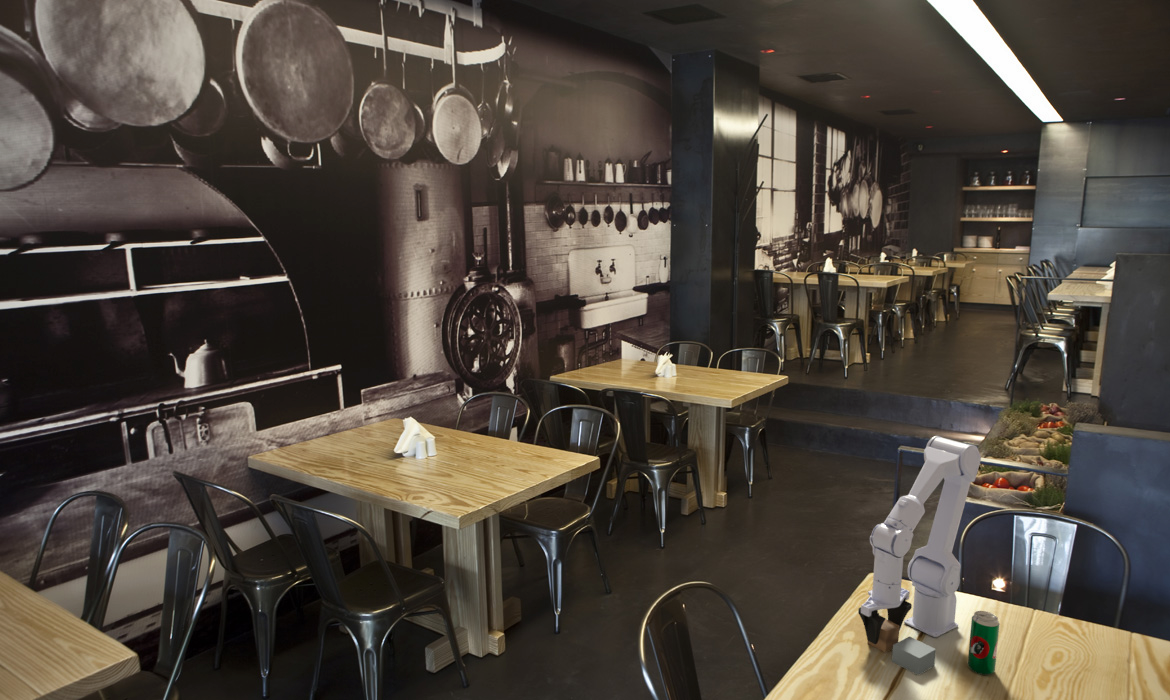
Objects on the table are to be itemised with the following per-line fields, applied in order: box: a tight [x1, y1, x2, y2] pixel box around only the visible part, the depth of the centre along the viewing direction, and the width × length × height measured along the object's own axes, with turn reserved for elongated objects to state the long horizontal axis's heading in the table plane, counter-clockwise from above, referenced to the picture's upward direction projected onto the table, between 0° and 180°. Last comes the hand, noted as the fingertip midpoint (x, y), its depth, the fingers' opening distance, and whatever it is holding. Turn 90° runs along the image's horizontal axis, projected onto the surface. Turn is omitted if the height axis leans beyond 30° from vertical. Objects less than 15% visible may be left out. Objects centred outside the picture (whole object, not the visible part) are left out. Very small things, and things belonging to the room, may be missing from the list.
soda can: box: [967, 610, 1000, 676], centre depth 154 cm, size 5×5×12 cm
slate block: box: [891, 636, 937, 676], centre depth 156 cm, size 6×6×4 cm
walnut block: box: [867, 618, 900, 653], centre depth 163 cm, size 4×4×5 cm
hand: (883, 636), depth 163 cm, fingers open, 7 cm apart
